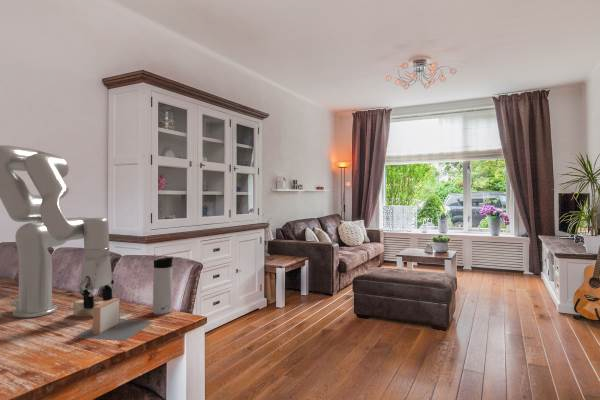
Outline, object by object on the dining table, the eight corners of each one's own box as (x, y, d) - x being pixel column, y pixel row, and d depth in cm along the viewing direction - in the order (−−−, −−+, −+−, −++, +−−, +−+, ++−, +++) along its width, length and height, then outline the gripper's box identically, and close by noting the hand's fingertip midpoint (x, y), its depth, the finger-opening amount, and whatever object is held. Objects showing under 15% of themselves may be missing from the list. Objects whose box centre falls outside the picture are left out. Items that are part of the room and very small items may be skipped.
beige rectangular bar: (71, 318, 127) (71, 303, 127) (81, 313, 132) (81, 299, 132) (123, 321, 125) (124, 306, 124) (132, 316, 129) (132, 301, 129)
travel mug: (166, 317, 129) (167, 259, 128) (149, 316, 130) (149, 258, 130) (176, 312, 135) (176, 256, 135) (159, 310, 136) (160, 255, 136)
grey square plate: (73, 339, 108) (73, 337, 108) (108, 321, 124) (108, 319, 124) (125, 342, 106) (125, 340, 106) (153, 323, 122) (153, 321, 122)
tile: (92, 334, 111) (93, 307, 111) (113, 322, 121) (114, 298, 121) (99, 334, 110) (99, 307, 110) (119, 323, 120) (120, 298, 120)
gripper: (103, 250, 137) (104, 297, 137) (68, 258, 120) (70, 311, 120) (122, 250, 136) (123, 297, 136) (90, 257, 119) (91, 311, 119)
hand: (98, 304), depth 128 cm, fingers open, 9 cm apart
